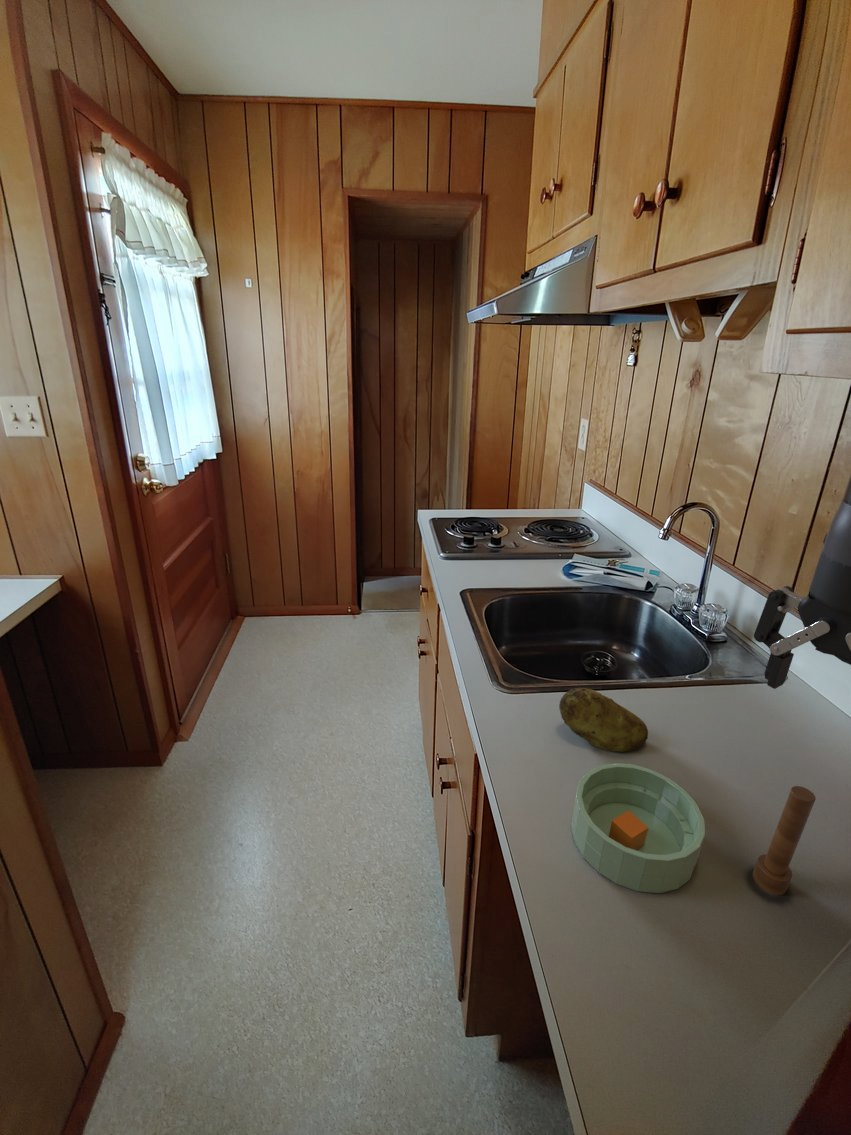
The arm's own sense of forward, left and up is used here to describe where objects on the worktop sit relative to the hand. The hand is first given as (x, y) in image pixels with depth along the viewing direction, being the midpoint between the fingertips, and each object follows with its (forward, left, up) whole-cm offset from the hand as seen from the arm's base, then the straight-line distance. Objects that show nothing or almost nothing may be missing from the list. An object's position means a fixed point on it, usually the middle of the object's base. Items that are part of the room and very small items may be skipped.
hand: (818, 707), depth 55 cm
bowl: (+9, -11, -24) cm, 28 cm away
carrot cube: (+10, -11, -24) cm, 28 cm away
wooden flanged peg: (0, +1, -24) cm, 24 cm away
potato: (-2, -26, -25) cm, 35 cm away
